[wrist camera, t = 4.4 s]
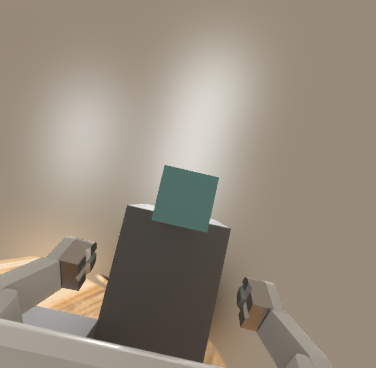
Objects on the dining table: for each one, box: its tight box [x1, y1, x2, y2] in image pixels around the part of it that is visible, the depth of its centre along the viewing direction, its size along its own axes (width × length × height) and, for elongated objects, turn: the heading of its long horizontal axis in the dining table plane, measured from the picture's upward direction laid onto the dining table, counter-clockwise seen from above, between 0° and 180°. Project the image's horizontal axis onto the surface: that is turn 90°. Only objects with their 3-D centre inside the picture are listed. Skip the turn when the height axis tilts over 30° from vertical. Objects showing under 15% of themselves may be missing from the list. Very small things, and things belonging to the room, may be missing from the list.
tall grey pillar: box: [22, 204, 231, 363], centre depth 21 cm, size 26×25×29 cm
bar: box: [152, 165, 219, 233], centre depth 27 cm, size 24×4×4 cm, turn 2°
